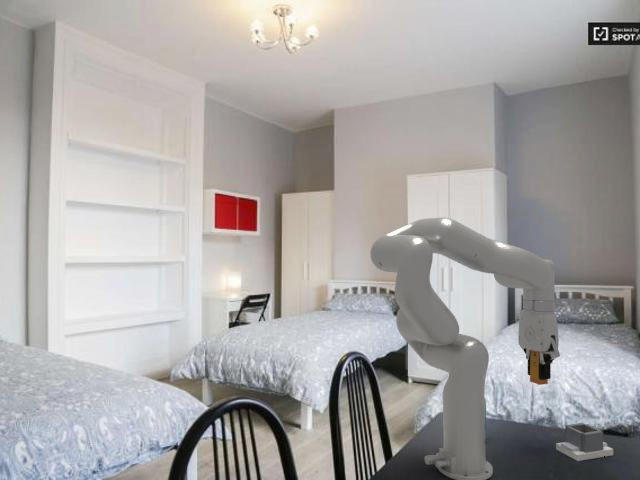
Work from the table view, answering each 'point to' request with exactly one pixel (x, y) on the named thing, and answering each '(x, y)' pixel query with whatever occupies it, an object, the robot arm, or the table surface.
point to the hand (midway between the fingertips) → (538, 376)
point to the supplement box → (536, 368)
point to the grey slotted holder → (584, 443)
